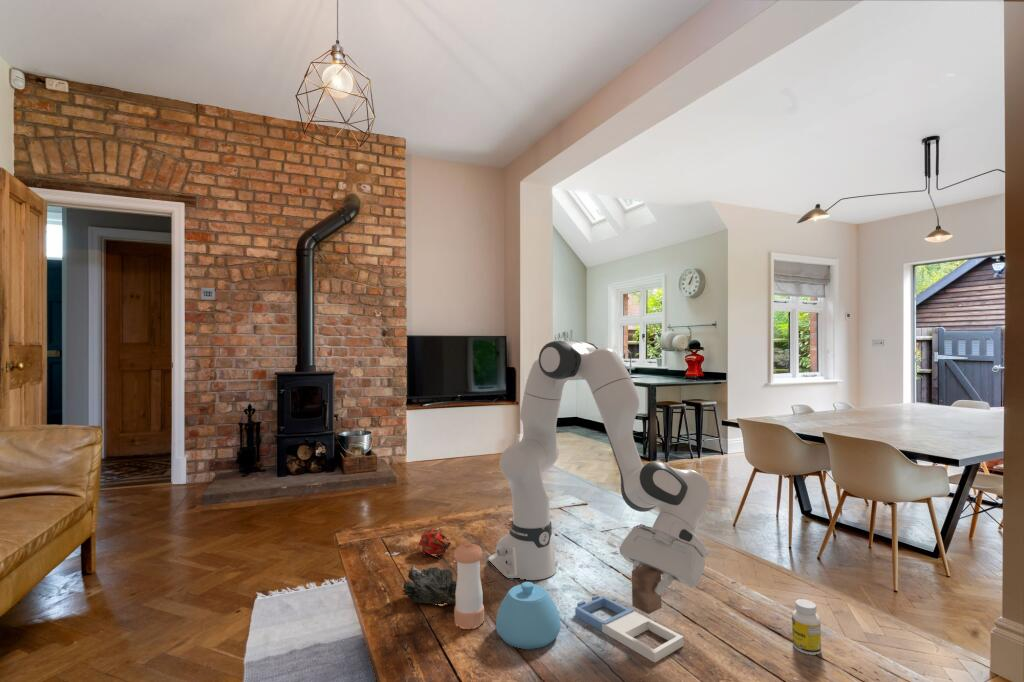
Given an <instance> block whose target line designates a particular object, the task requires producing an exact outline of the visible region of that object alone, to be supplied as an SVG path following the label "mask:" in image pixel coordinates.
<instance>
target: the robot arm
mask: <svg viewBox="0 0 1024 682" xmlns="http://www.w3.org/2000/svg"><path fill="white" fill-rule="evenodd" d="M630 374H631V373H629V371H628V369H627V367H626V366H625V363H624V362H623V361H622V359H621V358H620V356H619V355H618V354H617V352H616V351H615V350H613V349H611V348H609V347H599V346H597V345H596V344H595V343H591V342H584V341H579V340H554V341H550V342H547V343H546V344H545V345H543V346H542V348H541V350H540V352H539V355H538V358H537V359H536V360H534V362H533V364H532V366H531V368H530V370H529V372H528V376H527V379H526V384H525V387H524V392H523V397H522V401H521V407H520V413H519V417H520V421H521V422H522V426H523V427H522V429H523V430H522V438H521V440H520V441H518V442H514V443H512V444H510V445H509V446H508V447H507V448H506V449H504V451H502V453H501V454H500V457H499V460H498V461H499V462H498V463H499V464H498V465H499V469H500V472H501V474H502V475H503V476H504V478H505V479H506V480H507V482H508V484H509V489H510V492H511V498H512V500H511V501H512V520H511V521H508V522H507V523H508V524H507V526H508V527H509V526H510V528H509V532H508V533H507V534H506V535H504V536H502V537H501V538H500V539H499V540H498V541H497V542H496V547H495V553H493V554H492V555H490V556H489V557H488V559H487V560H489V561H490V562H491V563H492V564H493V565H494V566H495V567H496V568H497V569H498V570H499V571H500V572H501V573H502V574H503V575H504V576H506V577H507V578H520V579H519V580H524V579H526V580H525V581H538V580H544V579H547V578H551V577H552V576H553V575H555V574H556V572H557V565H558V559H557V558H556V557H555V545H554V539H553V536H552V534H553V531H552V530H553V526H552V522H551V511H550V509H551V506H550V505H551V504H550V500H551V499H550V495H549V493H548V492H547V491H546V489H545V486H544V483H543V473H544V472H547V470H550V468H552V467H553V465H554V464H555V463H556V462H557V460H558V458H559V455H560V454H559V453H560V450H559V446H558V444H557V422H558V417H559V412H560V406H561V400H562V396H563V389H564V387H565V384H566V383H567V382H568V381H577V380H584V381H586V383H587V385H588V387H589V389H590V392H591V394H592V396H593V397H592V398H593V399H594V401H595V404H596V405H597V406H596V407H597V409H598V411H599V414H600V416H601V419H602V421H603V422H602V423H603V425H604V428H605V432H606V434H607V435H606V436H607V438H608V441H609V444H610V448H611V449H612V453H613V456H614V459H615V462H616V465H617V467H618V471H619V475H620V493H621V497H622V499H623V501H624V502H625V503H626V504H627V506H629V508H631V509H632V510H634V511H636V512H642V513H643V512H644V513H645V512H650V511H651V510H653V509H655V508H656V507H657V508H658V509H659V513H658V515H657V517H656V519H655V520H654V523H653V525H652V526H647V525H645V524H637V525H635V526H633V527H632V528H631V531H629V533H628V534H627V535H626V537H625V538H624V540H623V542H621V544H620V546H619V553H620V555H621V556H622V557H623V558H624V560H626V561H628V562H631V563H633V564H632V570H634V569H637V568H639V567H642V566H644V565H645V566H648V567H650V568H653V569H655V570H657V571H660V572H661V581H660V582H659V583H658V584H657V583H654V585H653V587H652V591H653V592H654V593H655V594H657V595H661V596H662V593H663V591H664V589H666V588H667V587H669V586H670V585H672V584H673V581H675V582H679V583H680V584H683V585H685V586H687V587H690V588H695V587H696V586H697V585H698V584H699V583H700V581H701V578H702V576H703V573H704V570H705V566H706V561H705V559H706V558H708V557H709V553H710V552H709V550H708V548H707V546H705V544H704V543H703V542H702V540H701V539H700V538H699V537H698V536H697V535H696V534H695V533H696V527H697V525H698V523H699V521H700V520H701V519H702V518H703V516H704V513H705V512H706V509H707V507H708V504H709V502H710V498H711V492H712V489H711V485H710V482H709V481H708V480H707V478H706V477H704V475H702V474H701V473H699V472H698V471H696V470H693V469H689V468H687V469H679V468H676V467H675V468H674V467H672V466H669V465H668V464H666V463H664V462H662V461H650V462H647V463H646V464H643V461H642V459H641V456H640V454H639V451H638V448H637V445H636V442H635V439H634V431H633V430H634V424H635V420H636V416H637V413H638V411H639V409H640V408H639V407H640V398H639V394H638V391H637V388H636V385H635V383H634V381H633V378H632V377H631V375H630ZM489 561H488V562H489ZM490 562H489V563H490ZM491 563H490V564H491ZM492 564H491V565H492ZM493 565H492V566H493ZM494 566H493V567H494ZM495 567H494V568H495ZM496 568H495V569H496ZM497 569H496V570H497ZM498 570H497V571H498ZM499 571H498V572H499ZM500 572H499V573H500ZM501 573H500V574H501ZM502 574H501V575H502ZM504 576H503V577H504ZM507 578H506V579H507ZM630 582H631V583H632V576H631V577H630Z"/></svg>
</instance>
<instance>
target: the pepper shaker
mask: <svg viewBox="0 0 1024 682" xmlns="http://www.w3.org/2000/svg"><path fill="white" fill-rule="evenodd" d="M483 554H484V553H483V549H482V548H481V546H479V544H476V543H472V542H470V541H466V542H465V543H463V544H460V545H458V546H457V547H456V548H455V550H454V553H453V557H454V560H455V561H456V562H457V566H456V567H457V576H456V577H457V579H456V583H457V585H456V592H455V596H456V600H455V602H456V603H455V606H454V609H453V611H454V614H453V615H454V616H453V617H454V623H455V622H456V624H458V625H459V626H462V627H474V626H478V625H480V624H481V623H483V621H484V622H485V605H484V604H483V600H484V599H483V597H484V596H483V588H482V586H483V585H482V580H481V567H480V565H481V562H480V560H482V558H483ZM483 624H484V623H483Z"/></svg>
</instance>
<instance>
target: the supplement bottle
mask: <svg viewBox="0 0 1024 682" xmlns="http://www.w3.org/2000/svg"><path fill="white" fill-rule="evenodd" d="M794 602H795V603H794V605H795V609H794V610H793V611H792V612H791V613H792V614H791V619H792V620H791V625H792V626H791V627H792V628H791V629H792V645H793V647H794V649H796V650H797V651H798V652H800V653H802V654H804V653H805V655H808V654H809V655H808V656H817V655H819V654H821V653H822V652H821V651H822V635H821V634H822V632H821V631H822V630H821V625H822V624H821V618H820V615H818V613H817V605H816V603H815V602H813V601H811V600H808V599H806V598H805V599H804V598H803V599H802V598H800V599H799V598H798V599H797V600H795V601H794ZM816 654H817V655H816Z"/></svg>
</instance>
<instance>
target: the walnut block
mask: <svg viewBox="0 0 1024 682" xmlns="http://www.w3.org/2000/svg"><path fill="white" fill-rule="evenodd" d="M631 577H632V582H631V593H632V594H631V595H632V597H631V601H632V602H631V604H632V605H631V607H633V608H635V609H636V610H639V611H641V612H643V613H646V615H650V614H652V613H654V612H656V611H658V610H660V609H662V594H661V595H657V594H655V593H654V592H653V591H652V587H653V585H654V583H657V584H658V583H659V582H660V581H661V580H662V575H661V572H660V571H657V570H655V569H653V568H650V567H648V566H645V565H644V566H642V567H639V568H637V569H634V570H633V569H632V570H631Z"/></svg>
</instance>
